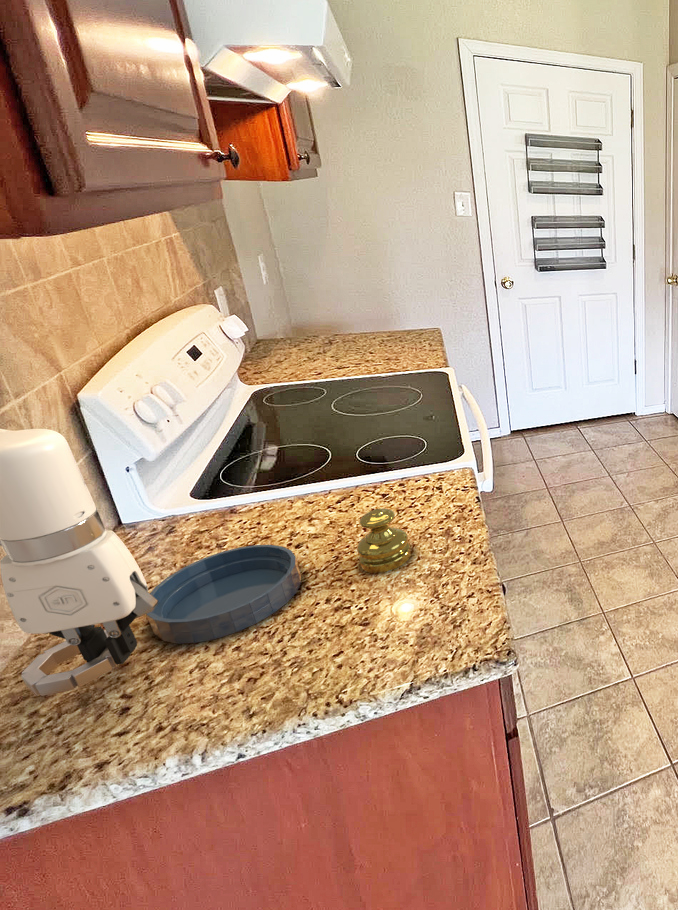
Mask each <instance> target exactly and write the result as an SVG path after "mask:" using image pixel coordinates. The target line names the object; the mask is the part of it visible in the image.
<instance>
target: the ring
mask: <svg viewBox="0 0 678 910" xmlns="http://www.w3.org/2000/svg"><path fill="white" fill-rule="evenodd" d="M103 630H104V632H105V634H106V636H107V638H108V634H107V632H106V630H105V629H103ZM79 654H81V652H80V650H79V648H78V646H77V645H70V644H68V643H67V641H66V640H64V641H63V642H61V643H58V644H57V645H54V646H52V647H51V648H48V649H46V650H44V651H43V653H41V654H38V655H37V656H36V657H35V658H34V660H32V661H31V662H30V664H29V665H28V666H26V667H25V669H24V670H22V672H21V675H20V678H21V679H22V681H23V683H24V685H25V686H26V688H28V689H29V690H30V691H31V692H32V693H33V694H34V695H35V696H37V697H38V696H41V697H45V696H49V695H54V694H59V693H65V692H68V691H73V690H75V689H76V688H77V687H78V688H81V687H83V686H85V685H87V684H89V683H91V682H92V681H94V680H96V679H98V678H100V677H102V676H104V675H105V674H107V673H109V672H111V671H113V668H116V667H118V665H119V664H116V663H115V662H114V660H113V658H112V656H111V654H110V652H109V650H108V648H106V649H105V650H104V651H103V652H102V654H101V655H100V656H99V657H97V658H95V659H93V660H91V661H89V662H87V661H86V662H85V663H84V664H82V665H80V666H78V667H76V668H74V669H72V670H67V671H62V672H58V673H52V672H53V670H54V669H55V668H56V667H57V666H58V665H60V664H62V663H64V662H66V661H68V660H70V659H72V658H73V657H76V656H78V655H79ZM51 673H52V674H51Z"/></svg>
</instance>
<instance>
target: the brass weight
mask: <svg viewBox="0 0 678 910" xmlns="http://www.w3.org/2000/svg"><path fill="white" fill-rule="evenodd" d="M395 516H396V514H395V512H394V510H392V509H390V508H375V509H373V510H370V511H368V512H366V513H364V514H363V515H362V516H361V517H360V519H359V525H360V526H361V527H362V528H364V529H368V530H369V532H367V533H366V535H365V536H364V537H362V538H361V539H360V540H359V542H358V543H357V545H356V552H357V554H358V556H359V558H358V560H359V562H360V567H361V569H362V570H363V571H364V572H367V573H371V574H381V573H382V574H383V573H386V572H390V571H393V570H396V569H397V568H399V567H401V566H403V565H404V564H406V563H407V561H408V560H409V559H410V558H411V553H412V552H411V545H410V543H409V535H408V533H407V532H406V531H405V530H404V529H401V528H398V527H394V526H390V524H391V522H392V521H394V519H395Z"/></svg>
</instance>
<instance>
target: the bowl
mask: <svg viewBox="0 0 678 910" xmlns="http://www.w3.org/2000/svg"><path fill="white" fill-rule="evenodd" d="M301 584H302V574H301V570H300V566H299V563H298V560H297V557H296V555H295V554H294V553H293V551H292V550H291V549H289V548H288V547H286V546H285V547H284V546H282V545H275V544H254V545H247V546H241V547H235V548H231V549H228V550H223V551H220V552H217V553H214V554H211V555H210V556H206V557H203V558H201V559H198V560H197V561H194V562H192V563H190V564H188V565H185V566H184V567H182V568H181V569H179V570H176V571H175V572H174V573H172V574H170V575H169V576H167V577H166V578H165V579H163V580H162V581H161V582H160V583H158V584H157V585H156V586H155V587H154V588H153V589H152V591H151V592H149V593H150V594H151V595H152V596H153V597H154V598H155V599H157V600H158V601H159V603H158V605H157V606H156V607H155V609H154V610H153V611H151V612H149V613H147V614H145V615H146V618H147V620H148V622H149V625H150V627H151V630H152V632H153V634H154V636H155V637H157V638H159V639H160V640H162V641H163V642H167V643H171V644H173V643H174V644H177V645H178V644H180V645H181V644H196V643H202V642H206V641H212V640H217V639H220V638H223V637H227V636H229V635H233V634H235V633H238V632H240V631H242V630H244V629H247V628H249V627H252V626H254V625H256V624H258V623H260V622H261V621H263V620H266V618H268V617H270V616H271V615H273V614H275V613H276V612H277V611H278V610H280V609H281V608H282V607H284V606H285V605H286V604H287V603H289V601H290V600H291V599H292V598H293V597H294V596H295V595H296V594H297V592H298V590H299V588H300V586H301Z"/></svg>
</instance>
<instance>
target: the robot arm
mask: <svg viewBox="0 0 678 910" xmlns="http://www.w3.org/2000/svg"><path fill="white" fill-rule="evenodd" d="M102 519H103V518H102V517H101V514H100V512H99V511H98V509H97V506H96V503H95V502H94V499H93V497H92V495H91V492H90V490H89V488H88V485H87V484H86V481H85V479H84V477H83V474H82V472H81V470H80V468H79V465H78V463H77V461H76V458H75V456H74V454H73V451H72V448H71V447H70V445H69V443H68V441H67V439H66V438H65V436H64V435H62V434H61V433H60V432H58V431H56V430H53V429H49V428H27V429H26V428H25V429H18V430H12V429H11V430H10V429H4V428H0V547H2V548H3V550H4V552H5V554H6V555H5V556H3V557H2V558H1V559H0V575H1V576H0V577H1V581H2V586H3V591H4V595H5V597H6V600H7V603H8V606H9V608H10V611H11V614H12V615H13V617H14V619H15V621H16V623H17V625H18V628H20V630H21V631H22V632H24V633H26V634H30V635H41V634H42V635H44V634H45V635H48V634H49V635H52V636H54V637H57V638H61V639H64V640H65V641H67V643H68V644H70V645H77V646H78V648H79V650H80V652H81V653H80V654H81V656H82V658H83V660H84V661H85V662H86V663H87V662H89V661H91V660H93V659H95V658H97V657H99V656H100V655H101V654H102V652H103V651H104V650H105V649H106V648H108V650H109V652H110V654H111V656H112V658H113V660H114V662H115V663H116V664H118V665H123V664H125V662H126V661H127V660H128V659H129V657H130V656H131V655H132V653H133V652H134V651H135V650H136V648H137V646H138V641H137V639H136V636H135V634H134V632H133V630H132V628H131V626H130V625H131V624H132V623H133V622H134V620H136V619H138V618H141V617H143V616H145V615H146V614H147V613H149V612H151V611H153V610H154V609H155V607H156V606H157V605H158V603H159V601H158V600H157V599H155V598H154V597H153V596H152V595H151V594H150V593H151V592H149V587H148V584H147V581H146V578H145V576H144V574H143V572H142V569H141V568H140V566H139V565H138V563H137V561H136V559H135V558H134V556H133V555H132V554H133V553H132V552H131V551H130V550H129V549H128V547H127V545H126V544H125V543H124V542H123V541H122V539H121V538H120V537H119V536H118V535H117V534H116V533H115V532H114V530H111V529H109V530H108V529H106V527H105V524H104V522H103V520H102ZM99 624H102V625H103V627H104V628H102V626H96V625H99ZM104 630H106V632H107V634H108V638H107V636H106V634H105V632H104Z"/></svg>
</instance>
